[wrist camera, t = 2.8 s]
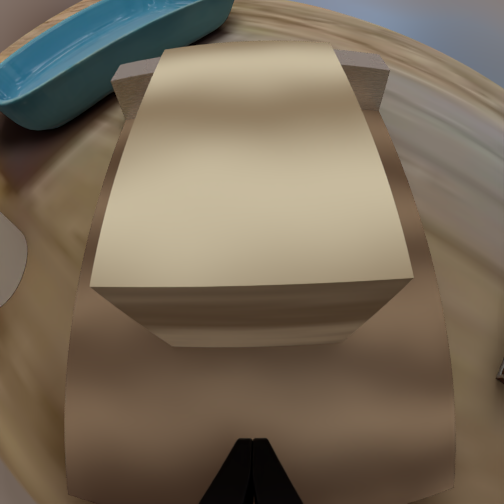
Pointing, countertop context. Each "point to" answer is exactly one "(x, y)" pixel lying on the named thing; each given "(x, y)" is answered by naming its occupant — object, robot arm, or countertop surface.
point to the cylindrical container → (10, 258)
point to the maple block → (250, 202)
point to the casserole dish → (96, 55)
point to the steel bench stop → (353, 63)
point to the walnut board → (265, 393)
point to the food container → (501, 373)
